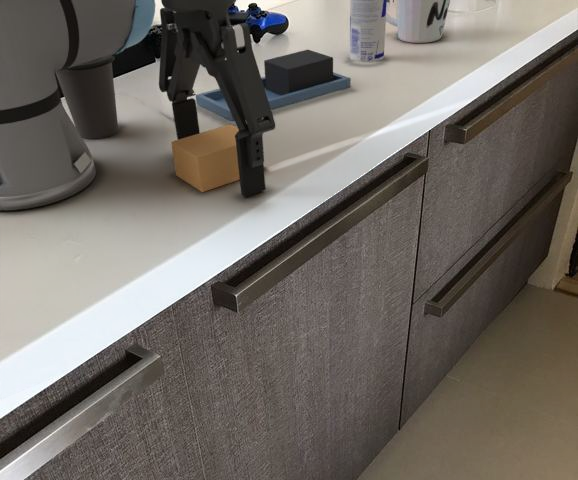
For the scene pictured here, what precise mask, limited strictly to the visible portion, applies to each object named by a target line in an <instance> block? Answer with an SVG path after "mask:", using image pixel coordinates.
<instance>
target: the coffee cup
mask: <svg viewBox="0 0 578 480" xmlns="http://www.w3.org/2000/svg"><path fill="white" fill-rule="evenodd" d="M114 61H115V56H114V55H112V54H110V55H107V56H104V57H101V58H98V59H95V60H92V61H89V62H86V63H83V64H80V65H76V66H73V67H70V68H67V69H64V70H61V71H58V72H55V76H56V79H57V82H58V84H59V86H60V89H61V91H62V94H63V97H64V100H65V102H66V105H67V107H68V110H69V113H70V117H71V120H72V122H73V124H74V126H75V127H76V129H77V131H78V132H79V134H80V136H81V137H82V139H88V140H89V139H90V140H95V139H104V138H107V137H111V136H113V135H114V134H117V133H118V131H119V125H118V124H119V121H118V112H117V103H116V93H115V83H114V73H113V62H114Z"/></svg>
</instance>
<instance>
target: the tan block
mask: <svg viewBox="0 0 578 480" xmlns="http://www.w3.org/2000/svg"><path fill="white" fill-rule="evenodd" d="M238 131H239V129H238V127H237V126H234V125H233V124H227V125H223V126H219V127H217V128H213V129H209V130H207V131H203V132H200V133H199V134H196V135H192V136H189V137H186V138H182V139H179V140H178V139H176V140H172V141H170V145H171V150H172V157H173V164H174V169H175V176H176V177H178V178H179V179H181V180H182V181H183V182H185V183H187V184H189V186H192V187H194V188H195V189H197V190H198V191H199V192H201V193H205V192H207V191H210V190H213V189H217V188H219V187H222V186H226V185H228V184H231V183H234V182H238V181H240V177H239V167H238V158H237V148H236V138H235V135H236V133H237V132H238Z"/></svg>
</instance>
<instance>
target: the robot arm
mask: <svg viewBox="0 0 578 480" xmlns="http://www.w3.org/2000/svg"><path fill="white" fill-rule="evenodd" d="M160 2H161V5H162V7H161V8H160V9H159V17H160V26H161V41H160V53H159V54H160V55H159V56H160V57H159V74H158V88H159V90H160V92H161V93H166V96H167V99H168V101H169V102H171V108H172V115H173V121H174V126H175V132H176V140H179V139H182V138H186V137H189V136H192V135H196V134H199V133H201V131H200V125H199V117H198V109H197V102H196V98H190V97H195V96H196V95H197V94H196V93H195V91H194V85H195V82H196V80H197V76H198V73H199V69H200V66H201V67H203V68H204V69H206V72H207V74H208V75H209V76H211V77H212V78H214V80H215V81H216V83H217V86H218V89H220V90H221V92H222V94H223V97H224V99H225V101H226V103H227V105H228V107H229V110H230V112H231V114H232V116H233V118H234V121H233V122H234V123H235V125H236V127H237V128H238V129H239V131H238V132H237V133H236V135H235V138H236V148H237V158H238V167H239V177H240V180H239V185H240V186H239V187H240V194H241V196H242V197H245V198H247V197H249V196H252V195H255V194H258V193H260V192H263V191H266V179H265V178H266V177H265V167H264V166H265V164H264V163H265V154H264V141H263V135H264V133H267V132H270V131H274V130H275V129H276V121H275V118H274V115H273V110H271V108H270V105H269V102H268V98H267V95H266V92H265V89H264V85H263V82H262V79H261V77H262V76H261V73H260V69H259V65H258V63H257V61H256V57H255V53H254V50H253V43H252V37H251V30H250V26H249V24H248V23H247V22H241V23H238V24H234V25H232V24H231V21H230V18H229V8H230V7H231V6H233V5H234V4H236V2H237V0H160ZM155 13H156V0H0V211H18V210H27V209H33V208H39V207H43V206H47V205H51V204H54V203H57V202H59V201H62V200H64V199H67V198H70V197H72V196H74V195H76V194H77V193H79V192H80V191H83V190H84V189H85V188H87V186H89V185H90V184H91V183H92V181H93V180H94V178H95V177H96V173H97V170H96V165H95V162H94V157H93V155H92V153H91V151H90V149H89V147H88V145H87V144H86V142H85V140H84V138H82V137H81V136H80V134H79V132H78V131H77V129H76V127H75V124H74V121H73V120H72V118H71V116H70V115H69V114H68V113H67V111H66V109H65V107H64V105H63V101H62V97H61V94H60V90H59V86H58V80H57V76H56V73H55V72H58V71H61V70H64V69H67V68H70V67H73V66H76V65H80V64H83V63H86V62H89V61H92V60H95V59H98V58H101V57H104V56H107V55H110V54H112V55H113V56H114V55H118V54H120V53H122V52H124V51H125V50H126V49H129V48H131V47H133V46H135V45H137V44H139V43H140V42H141V41H143V40H144V39H145V38H146V37H147V35H148V34H149V32H150V30H151V28H152V26H153V22H154V19H155V15H156V14H155Z"/></svg>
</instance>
